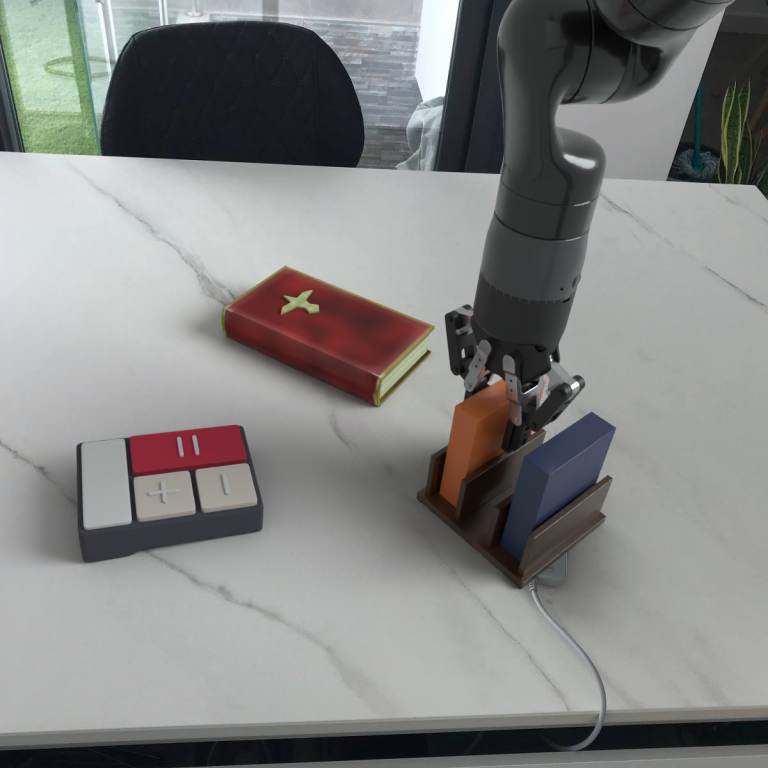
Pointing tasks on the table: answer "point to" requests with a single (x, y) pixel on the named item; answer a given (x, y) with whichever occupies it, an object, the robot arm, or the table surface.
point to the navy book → (555, 478)
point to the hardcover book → (329, 333)
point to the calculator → (165, 490)
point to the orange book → (475, 436)
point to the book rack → (491, 507)
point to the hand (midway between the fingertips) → (492, 432)
